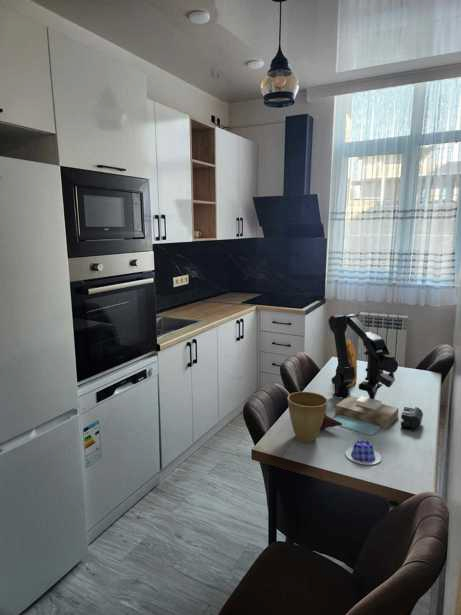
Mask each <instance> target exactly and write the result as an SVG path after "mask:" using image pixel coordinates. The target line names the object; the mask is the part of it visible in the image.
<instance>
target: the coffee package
mask: <svg viewBox="0 0 461 615" xmlns="http://www.w3.org/2000/svg"><path fill="white" fill-rule="evenodd" d="M346 346H347V353H348V360H349V364H350V365H351V366H353V367H354V372H355V378H354V379H353V382H352V383H350V384H349V387H353V386H354V385H355V384H356V383H357V378H358V377H357V376H358V375H357V374H358V362H357V360H358V359H357V352H356V349H355V346H354V345H353V343H352V341H351V339H347V340H346Z"/></svg>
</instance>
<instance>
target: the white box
mask: <svg viewBox="0 0 461 615" xmlns="http://www.w3.org/2000/svg"><path fill="white" fill-rule="evenodd" d="M357 398H358V399H357V400H356V405H359V406H363V407H367V408H370V409H374V410H377V409H378V408H379V407H381V406H382V404H383V403H382V402H383V401H382V400H378V399H376V398H375V399H371V398H370V397H367V396H362V395H361V396H360V397H357Z"/></svg>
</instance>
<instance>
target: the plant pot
mask: <svg viewBox="0 0 461 615" xmlns="http://www.w3.org/2000/svg"><path fill="white" fill-rule="evenodd" d="M287 405H288V406H287V407H288V412H289V413H288V414H289V418H290V422H291V426H292V430H293V433H294V435H295V438H296V439H297V441H300V442H302V443H312V442H315V440H316V439H317V437H318V435H319V433H320V431H321V430H320V428H321V425H322V422H323V419H324V416H325V414H326V412H327V406H328V399H327V397H326V396H325V395H323V394H320V393H316V392H312V391H311V392H310V391H297V392H293V393H290V394H288V396H287Z"/></svg>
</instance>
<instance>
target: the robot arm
mask: <svg viewBox="0 0 461 615" xmlns="http://www.w3.org/2000/svg"><path fill="white" fill-rule="evenodd" d="M328 325H329V329H330V331H331V332H332V333H333V336H334V342H335V352H336V357H337V365H336V366H337V367H336V369H335V375H334V376H333V377H332V378H331V383H332V385H334V390H333V391H334V393H333V394H332V397H333V396H334V397H337V398H340V399H343V400H344V399H345V398H347V397H348V396H351V386H349V384H350V383H352V382H353V379H354V378H355V372H354V367H353V366H351V365H350V364H349V360H348V353H347V346H346V344H347V340H346V331H347V328H348V327H350V328H351V330H352V331H354V333H355V334H356V335H357V336H358V337H359V338H360V339H361V340H362V344H363V345H362V346H364V348H365V349H366V351H365V352H363V354H364V355H366V356H367V364H366V368H365V372H366V376H365V377H364V381H362V382H361V383H359V384H358V390H360V391H364V392H367V394H368V398H371V399H375V400H376V395H377V392H378V390H379V389H380V388H381V387H383V385H384V386H385V387H387V388H390V387H392V386H393V384H394V382H395V381H396V377H395V373H396V372H397V370H398V368H399V363H398V362H397V360H396V358H395V356H393V355H390V354H391V353H390V351H389V349H388V347H387V344H386V342H385V339H383V338H382V337H381V336H379V335H378V334H376V333H373V332H371V331H370V330H369V328H367V327H366V326H365V325H364V324H363V323H362V322H361V321H360V320H359V318H357V316H356V315H355V314H353V313H352V314H351V313H350V314H345V315H344V314H337V315H331V316H330V317H329V318H328ZM385 372H387V373H385Z"/></svg>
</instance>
